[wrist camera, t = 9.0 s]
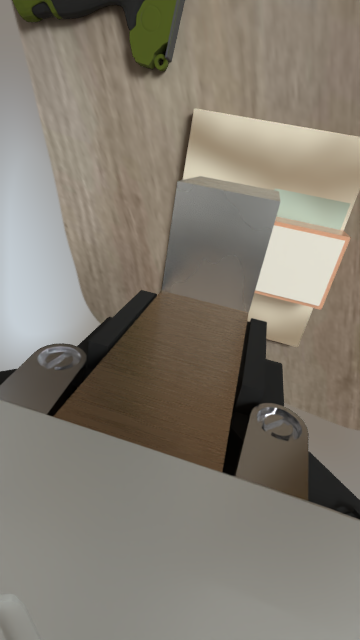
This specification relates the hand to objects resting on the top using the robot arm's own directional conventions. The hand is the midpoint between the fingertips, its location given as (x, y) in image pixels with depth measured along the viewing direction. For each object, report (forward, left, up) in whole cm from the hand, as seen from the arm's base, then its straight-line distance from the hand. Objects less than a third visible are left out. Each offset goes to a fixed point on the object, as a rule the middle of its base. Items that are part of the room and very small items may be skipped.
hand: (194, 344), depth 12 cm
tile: (+1, +5, -20) cm, 21 cm away
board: (0, +1, -21) cm, 21 cm away
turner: (0, 0, -4) cm, 4 cm away
